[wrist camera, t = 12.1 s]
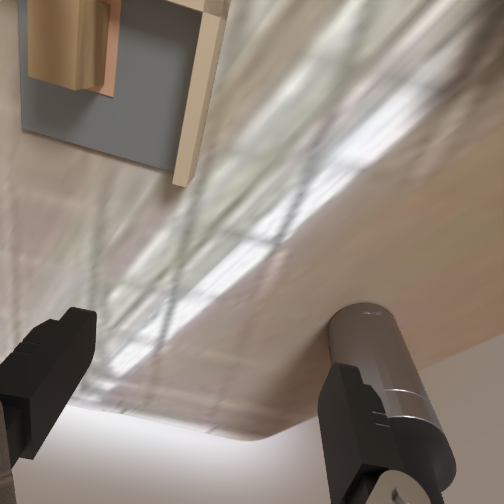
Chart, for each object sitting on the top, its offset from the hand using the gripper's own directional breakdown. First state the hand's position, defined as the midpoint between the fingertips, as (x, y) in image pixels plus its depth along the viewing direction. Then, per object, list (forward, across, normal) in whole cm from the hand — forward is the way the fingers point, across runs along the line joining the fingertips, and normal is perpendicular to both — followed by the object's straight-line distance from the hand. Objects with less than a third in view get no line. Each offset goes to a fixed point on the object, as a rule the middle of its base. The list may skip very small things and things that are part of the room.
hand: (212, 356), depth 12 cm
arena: (+31, +15, -6) cm, 35 cm away
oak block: (+30, +18, -7) cm, 36 cm away
